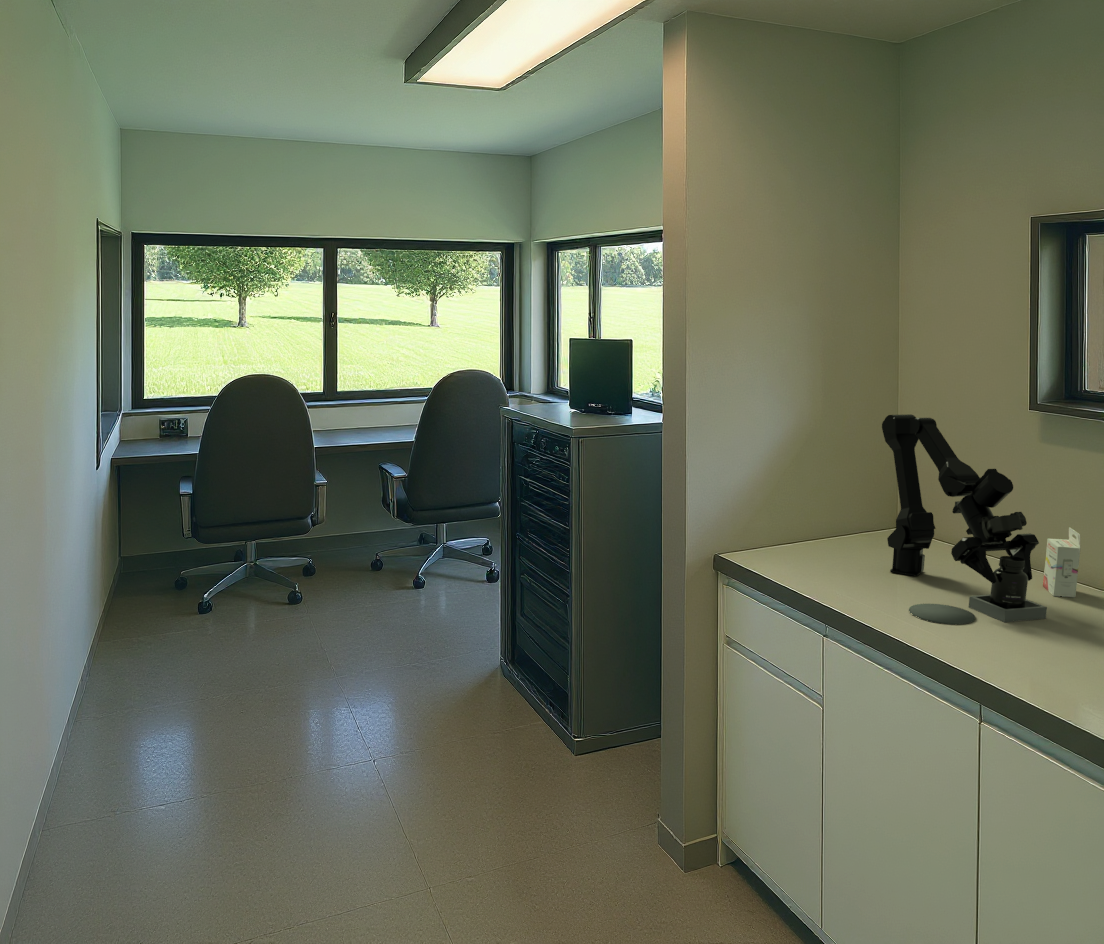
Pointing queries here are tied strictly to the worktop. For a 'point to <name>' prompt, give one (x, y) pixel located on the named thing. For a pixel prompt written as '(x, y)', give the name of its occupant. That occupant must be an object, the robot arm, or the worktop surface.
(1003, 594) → the supplement bottle
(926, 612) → the rubber mat
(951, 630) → the worktop surface
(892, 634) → the worktop surface
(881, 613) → the worktop surface
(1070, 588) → the ink cartridge box
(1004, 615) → the square grey tray
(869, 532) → the worktop surface
